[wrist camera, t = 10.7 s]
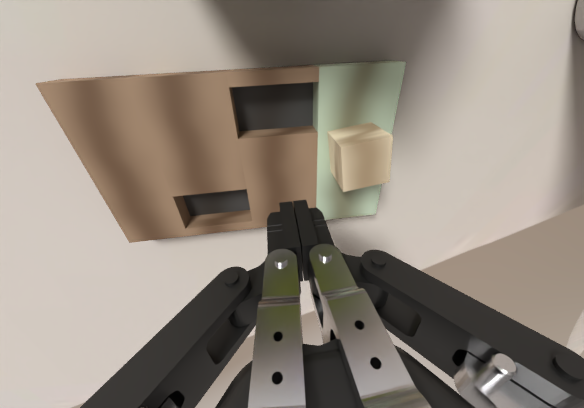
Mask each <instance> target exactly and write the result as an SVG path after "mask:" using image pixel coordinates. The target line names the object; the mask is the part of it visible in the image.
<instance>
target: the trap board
mask: <svg viewBox="0 0 584 408" xmlns="http://www.w3.org/2000/svg"><path fill="white" fill-rule="evenodd" d="M405 65H406V62H401V61H374V62H357V63H339V64H322V65H304V66H287V67H269V68H252V69H234V70H217V71H200V72H182V73H165V74H147V75H130V76H112V77H95V78H77V79H60V80H54V81H48V82H42V83H36V86H37V87H38V89H39V91H40V92H41V94H42V96H43V97H44V99H45V101H46V102H47V104H48V106H49V108H50V109H51V111H52V113H53V114H54V116H55V118H56V119H57V121H58V123H59V124H60V126H61V128H62V129H63V131H64V133H65V135H66V136H67V138H68V140H69V141H70V143H71V145H72V146H73V148H74V150H75V151H76V153H77V155H78V156H79V158H80V160H81V162H82V163H83V165H84V167H85V168H86V170H87V172H88V173H89V175H90V177H91V178H92V180H93V182H94V183H95V185H96V187H97V188H98V190H99V192H100V194H101V195H102V197H103V199H104V200H105V202H106V204H107V205H108V207H109V209H110V210H111V212H112V214H113V215H114V217H115V219H116V221H117V222H118V224H119V226H120V227H121V229H122V231H123V232H124V234H125V236H126V237H127V239H128V241H129V242H130V243H131V242H139V241H148V240H157V239H165V238H174V237H183V236H191V235H200V234H208V233H217V232H226V231H234V230H243V229H252V228H260V227H267V218H268V216H269V215H270V213H272V212H280V206H279V203H280V202H289V201H292V203H293V201H297V200H306V201H307V204H308V208H315V207H317V208H318V209H319V210H320V211H321V212H322V213H323V216H324V219H325V220H330V219H338V218H347V217H355V216H364V215H373V214H376V210H377V205H378V200H379V195H380V190H381V185H382V184H378V185H373V186H369V187H364V188H360V189H355V190H350V191H346V192H343V191H342V189H341V187H340V186H339V184H338V183H337V181H336V179H335V178H334V176H333V174H332V173H331V170H330V158H329V146H328V135H327V131H332V130H336V129H341V128H345V127H350V126H355V125H359V124H364V123H369V122H372V123H373V124H375V125H377V126H378V127H380V128H381V129H383V130H384V131H386V132H388V133H389V134H391V135H392V130H393V125H394V120H395V115H396V110H397V105H398V100H399V95H400V90H401V85H402V80H403V75H404V70H405Z"/></svg>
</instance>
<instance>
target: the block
mask: <svg viewBox="0 0 584 408" xmlns="http://www.w3.org/2000/svg"><path fill="white" fill-rule="evenodd" d="M327 135H328V146H329V158H330V170H331V173H332V174H333V176H334V178H335V179H336V181H337V183H338V184H339V186H340V187H341V189H342V191H343V192H346V191H350V190H355V189H360V188H364V187H369V186H373V185H378V184H382V183H387V182H389V180H390V168H391V155H392V143H393V136H392V135H391V134H389V133H388V132H386V131H384V130H383V129H381V128H380V127H378V126H377V125H375V124H373V123H372V122H369V123H364V124H359V125H355V126H350V127H345V128H341V129H336V130H332V131H327Z"/></svg>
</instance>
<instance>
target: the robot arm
mask: <svg viewBox="0 0 584 408" xmlns="http://www.w3.org/2000/svg"><path fill="white" fill-rule="evenodd" d="M575 25H576V31H577V33H578V35H579V37H580V38H581V39H583V40H584V0H578V2H577V6H576V13H575ZM279 206H280V212H272V213H270V215H269V216H268V218H267V240H268V255H267V257H266V259H265V261H264V262H263V263H262V264H261V265H260V266H258V267H256V268H254V269H252V270H249V271H246V270H245V269H244V268H241V267H231V268H227V269H225V270H224V271H222V272H221V273H220V274H219V275H218V276H217V277H216V278H215V279H213V280H212V281H211V282H210V283H209V284H208V285H207V286H206V287H205V288H204V289H203V290H202V291H201V292H200V293H199V294H198V295H197V296H196V297H195V298H194V299H193V300H192V301H191V302H190V303H188V304H187V305H186V306H185V307H184V308H183V309H182V310H181V311H180V312H179V313H178V314H177V315H176V316H175V317H174V318H173V319H172V320H171V321H170V322H169V323H168V324H167V325H166V326H164V327H163V328H162V329H161V330H160V331H159V332H158V333H157V334H156V335H155V336H154V337H153V338H152V339H151V340H150V341H149V342H148V343H147V344H146V345H145V346H144V347H143V348H142V349H141V350H139V351H138V352H137V353H136V354H135V355H134V356H133V357H132V358H131V359H130V360H129V361H128V362H127V363H126V364H125V365H124V366H123V367H122V368H121V369H120V370H119V371H118V372H117V373H116V374H114V375H113V376H112V377H111V378H110V379H109V380H108V381H107V382H106V383H105V384H104V385H103V386H102V387H101V388H100V389H99V390H98V391H97V392H96V393H95V394H94V395H93V396H92V397H91V398H89V399H88V400H87V401H86V402H85V403H84V404H83V405H82V406H81V407H80V408H195V407H196V405H197V404H198V403H199V401H200V400H201V399H202V397H203V396H204V394H205V393H206V392H207V390H208V389H209V388H210V386H211V385H212V383H213V382H214V381H215V380H216V378H217V377H218V376H219V374H220V373H221V371H222V370H223V369H224V367H225V366H226V365H227V363H228V362H229V361H230V359H231V358H232V356H233V355H234V353H236V351H237V350H238V348H239V347H240V345H241V344H242V343H243V342H244V340H245V339H246V338H247V336H248V335H249V334H250V332H251V331H252V329H253V328H254V327H255V325H256V330H255V341H254V351H253V360H252V361H251V362H250V363H248V364H247V365H246V366H245V367H244V368H243V369H242V370H241V371H240V372H239V373H238V374H237V376H236V377H235V378H234V380H233V381H232V383H231V384H230V386H229V387H228V389H227V390H226V392H225V393H224V395H223V396H222V398H221V400H220V401H219V403H218V404H217V406H216V407H215V408H584V359H583V358H582V357H581V356H579V355H578V354H576V353H575V352H573V351H571V350H570V349H568V348H566V347H564V346H562V345H560V344H558V343H556V342H555V341H553V340H550V339H549V338H547V337H545V336H543V335H541V334H539V333H538V332H536V331H534V330H532V329H530V328H528V327H526V326H524V325H522V324H520V323H519V322H517V321H515V320H513V319H511V318H509V317H507V316H505V315H503V314H501V313H500V312H497V311H496V310H494V309H492V308H490V307H488V306H486V305H484V304H482V303H480V302H479V301H477V300H475V299H473V298H471V297H469V296H467V295H465V294H464V293H462V292H460V291H458V290H456V289H454V288H452V287H450V286H448V285H446V284H445V283H442V282H441V281H439V280H437V279H435V278H433V277H431V276H429V275H428V274H426V273H424V272H422V271H420V270H418V269H416V268H414V267H412V266H411V265H409V264H407V263H405V262H403V261H401V260H399V259H397V258H395V257H393V256H392V255H390V254H388V253H386V252H383V251H380V250H370V251H367V252H365V253H364V254H363V255H362V257H356V256H349V255H346V254H343V253H341V252H340V251H339V249H338V248H337V247H335V246H334V243H333V241H332V238H331V235H330V232H329V230H328V227H327V224H326V221H325V219H324V216H323V213H322V212H321V211H320V210H319V209H318V208H317V207H315V208H308V204H307V201H306V200H297V201H293V203H292V201H289V202H280V203H279ZM302 271H303V274H302ZM303 276H304V281H307V280H309V282H310V289H311V298H312V301H313V305H314V308H315V312H316V315H317V319H318V322H319V326H320V330H321V333H322V339H323V345H321V346H315V345H307V344H303V338H302V323H301V306H300V294H301V287H300V281H303ZM385 328H386V329H387V330H388V331H390V332H391V333H392V334H394V335H395V336H396V337H398V338H399V339H400V340H402V341H403V342H404V343H406V344H407V345H408V346H410V347H411V348H413V349H414V350H415V351H417V352H418V353H419V354H421V355H422V356H423V357H425V358H426V359H427V360H429V361H430V362H431V363H433V364H434V365H435V366H437V367H438V368H439V369H441V370H442V371H444V372H445V373H446V374H448V375H449V376H450V377H452V378H453V379H454V382H455V386H456V388H457V390H458V392H459V394H460V395H459V394H458V393H457V392H456V391H454V390H453V389H452V388H451V387H449V386H448V385H447V384H445V383H444V382H443V381H442V380H441V379H439V378H438V377H437V376H436V375H434V374H433V373H432V372H431V371H429V370H428V369H427V368H426V367H425V366H423V365H422V364H421V363H419V362H418V361H417V360H416V359H415V358H413V357H412V356H411V355H409V354H408V353H407V352H405V351H404V350H402V349H401V348H399V347H397V346H395V345H394V344H393V342H392V340H391V338H390V337H389V335H388V333H387V331H386V329H385Z"/></svg>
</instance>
